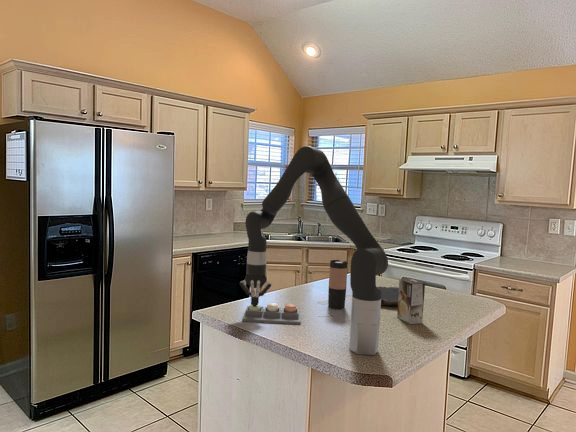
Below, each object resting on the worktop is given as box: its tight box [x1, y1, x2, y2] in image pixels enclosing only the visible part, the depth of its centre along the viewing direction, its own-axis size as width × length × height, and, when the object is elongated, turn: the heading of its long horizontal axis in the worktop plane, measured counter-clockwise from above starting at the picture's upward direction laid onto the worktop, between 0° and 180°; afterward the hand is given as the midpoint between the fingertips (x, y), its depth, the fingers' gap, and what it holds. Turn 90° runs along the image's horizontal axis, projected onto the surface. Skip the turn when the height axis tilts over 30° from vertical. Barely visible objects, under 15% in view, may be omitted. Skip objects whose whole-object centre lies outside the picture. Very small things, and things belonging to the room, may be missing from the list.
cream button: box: [266, 302, 279, 312], centre depth 168 cm, size 4×4×2 cm
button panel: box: [241, 305, 302, 325], centre depth 168 cm, size 14×22×3 cm, turn 89°
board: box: [377, 286, 399, 307], centre depth 200 cm, size 22×22×5 cm
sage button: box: [249, 304, 261, 311], centre depth 168 cm, size 4×4×2 cm
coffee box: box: [396, 278, 426, 325], centre depth 172 cm, size 9×6×16 cm
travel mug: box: [327, 259, 349, 310], centre depth 186 cm, size 8×8×20 cm
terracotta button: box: [284, 303, 297, 313], centre depth 168 cm, size 4×4×2 cm
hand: (254, 306), depth 168 cm, fingers closed
